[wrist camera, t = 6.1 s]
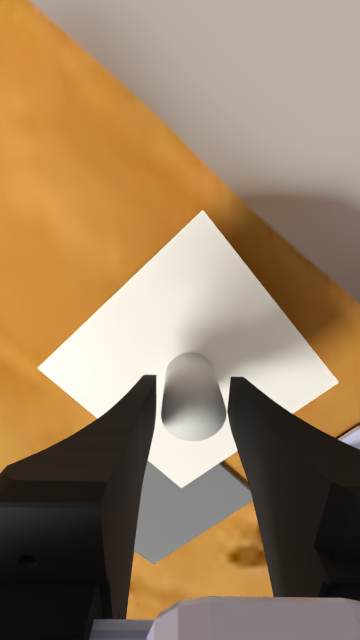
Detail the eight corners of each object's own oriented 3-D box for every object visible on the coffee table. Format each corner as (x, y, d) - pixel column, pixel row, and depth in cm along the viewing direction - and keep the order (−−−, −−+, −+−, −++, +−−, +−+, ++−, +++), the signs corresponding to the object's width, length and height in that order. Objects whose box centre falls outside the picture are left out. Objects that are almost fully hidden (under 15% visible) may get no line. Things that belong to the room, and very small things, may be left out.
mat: (256, 493, 23) (257, 497, 23) (154, 559, 26) (153, 564, 26) (153, 403, 20) (152, 406, 20) (50, 490, 23) (47, 494, 23)
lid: (332, 377, 14) (390, 423, 10) (181, 480, 17) (182, 549, 13) (201, 212, 12) (212, 190, 8) (43, 363, 14) (-10, 405, 10)
